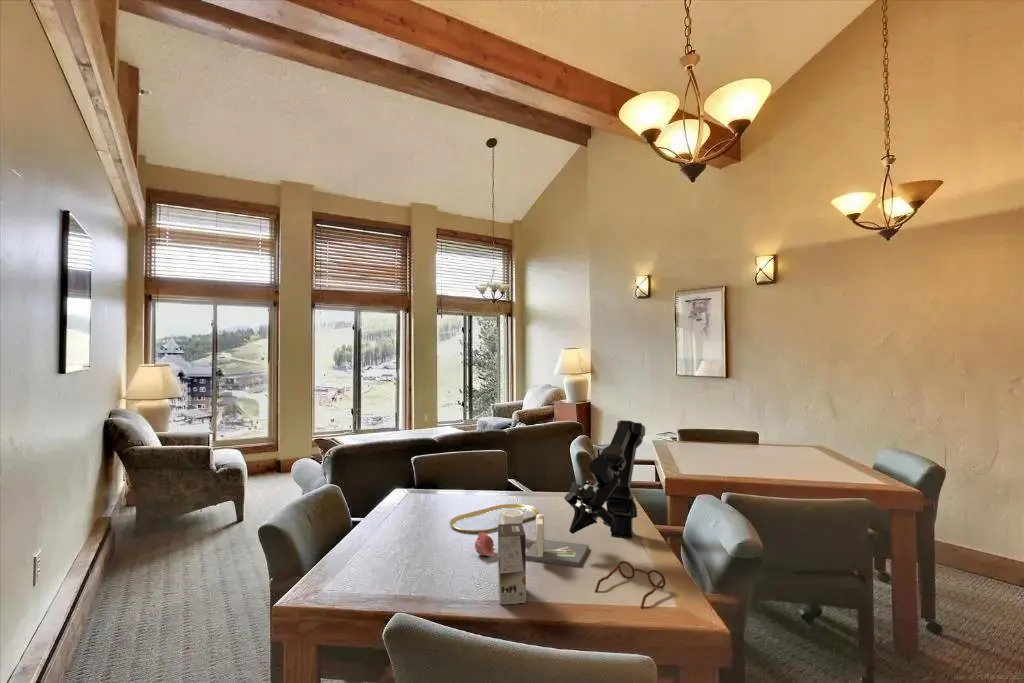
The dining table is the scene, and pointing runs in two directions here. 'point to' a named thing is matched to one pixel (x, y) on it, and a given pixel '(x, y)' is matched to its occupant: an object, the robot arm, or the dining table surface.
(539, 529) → the tuning peg
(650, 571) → the glasses
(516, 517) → the cup
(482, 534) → the flower
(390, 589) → the dining table surface
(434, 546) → the dining table surface
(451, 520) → the yellow oval loop
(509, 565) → the coffee box
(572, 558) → the grey board
